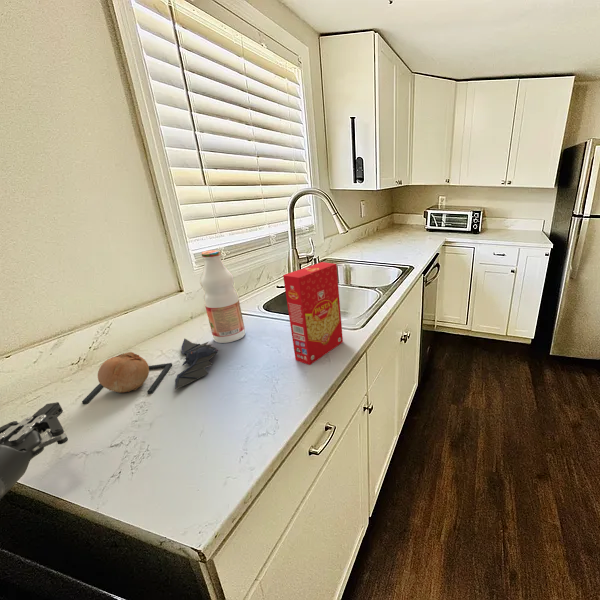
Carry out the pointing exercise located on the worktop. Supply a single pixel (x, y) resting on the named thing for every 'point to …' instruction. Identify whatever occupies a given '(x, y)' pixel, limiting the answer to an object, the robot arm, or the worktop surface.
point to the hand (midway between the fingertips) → (55, 406)
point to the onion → (123, 372)
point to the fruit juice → (221, 299)
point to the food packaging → (314, 311)
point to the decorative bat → (195, 362)
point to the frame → (150, 391)
